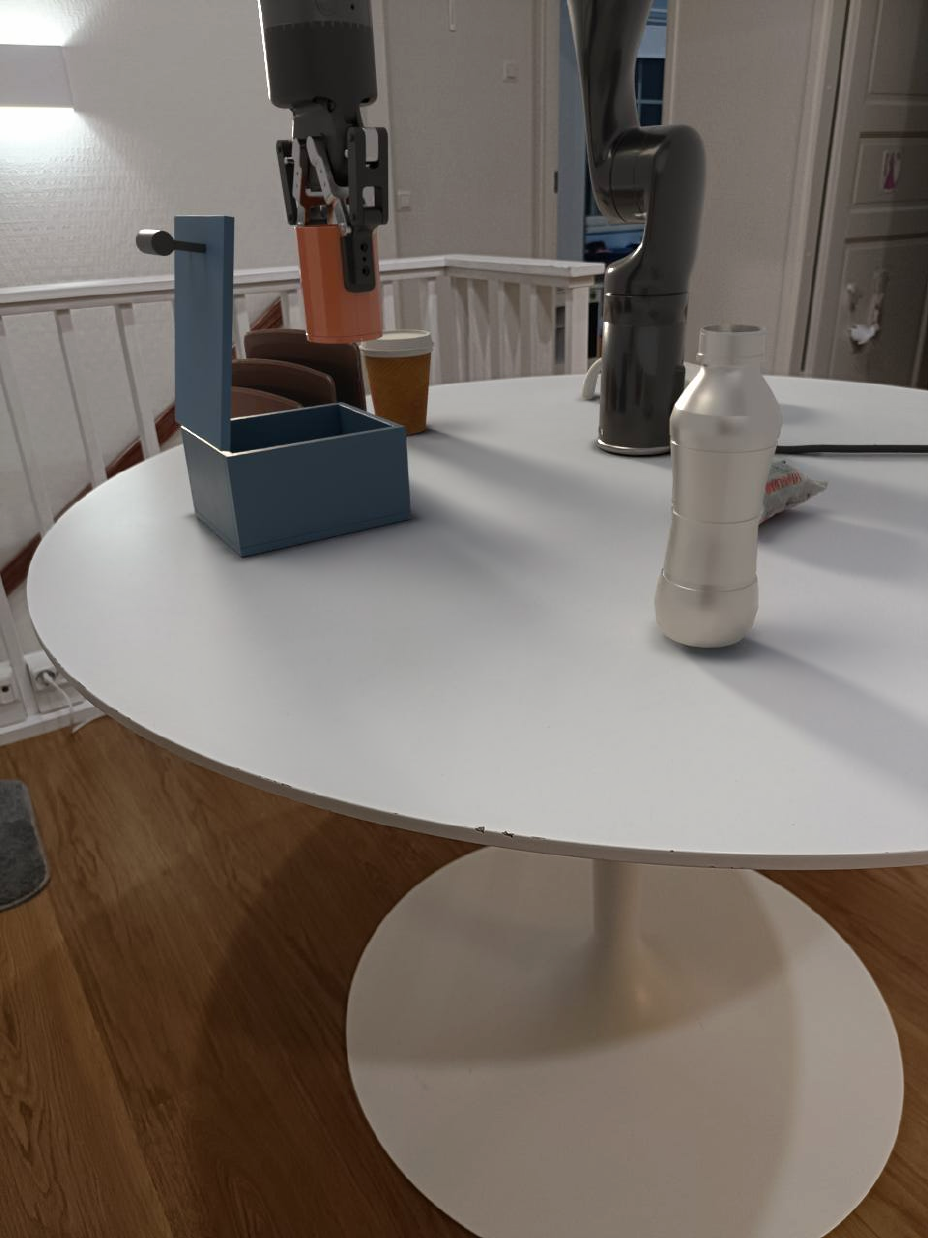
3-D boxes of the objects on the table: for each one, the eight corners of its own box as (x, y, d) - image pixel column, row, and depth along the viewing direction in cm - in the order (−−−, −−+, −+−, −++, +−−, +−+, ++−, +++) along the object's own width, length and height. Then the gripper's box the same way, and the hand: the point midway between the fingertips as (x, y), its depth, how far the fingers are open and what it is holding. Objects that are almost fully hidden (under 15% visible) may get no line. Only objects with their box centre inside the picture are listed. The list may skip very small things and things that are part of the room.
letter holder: (261, 437, 114) (246, 323, 108) (373, 459, 102) (364, 333, 96) (197, 454, 107) (178, 333, 101) (310, 480, 95) (295, 345, 89)
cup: (389, 331, 71) (382, 222, 67) (374, 342, 65) (365, 225, 62) (318, 332, 71) (307, 224, 68) (297, 344, 66) (284, 227, 63)
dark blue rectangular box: (349, 485, 93) (342, 401, 90) (411, 519, 83) (405, 426, 79) (195, 515, 86) (179, 426, 82) (241, 557, 75) (226, 456, 71)
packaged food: (823, 511, 81) (831, 459, 79) (753, 544, 74) (759, 488, 72) (741, 493, 87) (745, 443, 85) (668, 522, 80) (672, 469, 78)
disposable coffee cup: (428, 439, 110) (424, 340, 105) (356, 437, 112) (347, 340, 107) (445, 421, 118) (441, 328, 113) (377, 420, 120) (370, 329, 115)
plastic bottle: (640, 620, 62) (659, 323, 53) (734, 614, 62) (767, 318, 54) (667, 663, 56) (693, 338, 48) (770, 656, 57) (814, 333, 48)
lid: (183, 216, 76) (122, 208, 73) (234, 216, 65) (166, 206, 63) (183, 421, 82) (127, 420, 79) (230, 451, 71) (167, 451, 69)
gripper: (418, 10, 56) (431, 291, 63) (323, 43, 67) (344, 279, 74) (309, 1, 52) (336, 300, 60) (228, 38, 63) (259, 287, 71)
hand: (340, 287), depth 67 cm, fingers closed on cup, 6 cm apart
